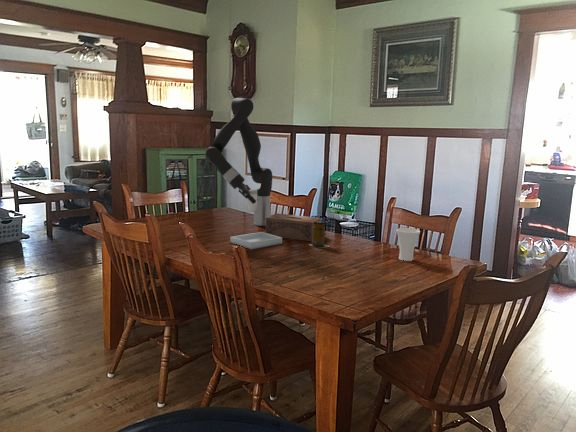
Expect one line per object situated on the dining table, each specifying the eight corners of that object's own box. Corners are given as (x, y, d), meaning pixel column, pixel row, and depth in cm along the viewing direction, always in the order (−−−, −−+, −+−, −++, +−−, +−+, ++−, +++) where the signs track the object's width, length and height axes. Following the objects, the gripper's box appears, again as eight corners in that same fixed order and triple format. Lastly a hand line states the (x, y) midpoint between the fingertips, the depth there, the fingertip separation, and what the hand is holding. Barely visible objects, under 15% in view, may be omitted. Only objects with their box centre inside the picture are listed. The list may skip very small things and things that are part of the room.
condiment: (318, 243, 250) (319, 219, 248) (330, 246, 244) (331, 222, 242) (307, 245, 246) (308, 221, 244) (319, 248, 239) (320, 224, 237)
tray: (261, 237, 258) (261, 231, 257) (282, 243, 247) (282, 237, 246) (230, 242, 244) (230, 236, 244) (250, 249, 233) (250, 243, 233)
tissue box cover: (319, 236, 267) (320, 217, 266) (311, 241, 254) (312, 222, 252) (276, 230, 277) (276, 213, 275) (265, 235, 263) (265, 217, 262)
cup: (401, 263, 219) (403, 233, 216) (390, 256, 229) (392, 228, 226) (422, 262, 221) (424, 232, 219) (410, 255, 231) (412, 227, 229)
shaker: (252, 209, 265) (253, 189, 263) (258, 211, 261) (259, 190, 259) (245, 210, 262) (245, 190, 259) (251, 212, 258) (251, 191, 256)
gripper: (235, 174, 252) (258, 199, 253) (241, 171, 266) (263, 195, 267) (225, 184, 253) (248, 208, 254) (231, 181, 267) (253, 204, 268)
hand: (255, 201), depth 260 cm, fingers closed on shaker, 5 cm apart
